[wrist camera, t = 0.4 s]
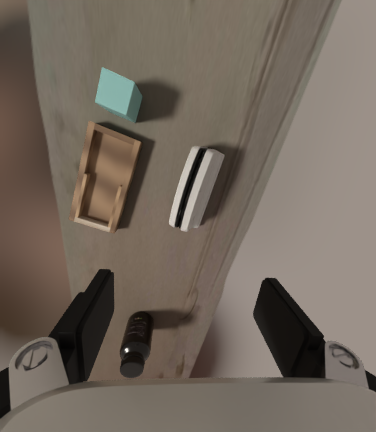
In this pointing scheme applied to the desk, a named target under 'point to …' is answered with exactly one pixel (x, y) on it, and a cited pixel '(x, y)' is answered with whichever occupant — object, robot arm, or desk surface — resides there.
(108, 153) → the slot board
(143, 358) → the supplement bottle
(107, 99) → the aqua rectangular block
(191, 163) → the white piece
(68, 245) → the desk surface
